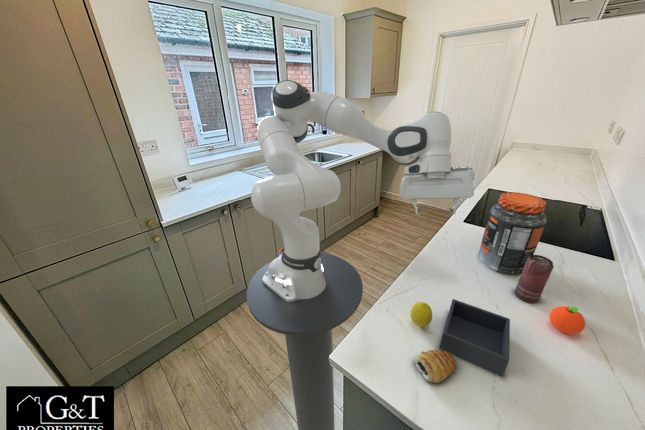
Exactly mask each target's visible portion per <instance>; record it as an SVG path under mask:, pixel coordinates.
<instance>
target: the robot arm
mask: <svg viewBox="0 0 645 430" xmlns="http://www.w3.org/2000/svg"><path fill="white" fill-rule="evenodd" d="M271 102H272V107H273V112H274V113H273V114H274V115H268V116H265V117H263V118H262V119H261V120H260V121H259V122H258V125H257V127H256V128H257V129H256V131H257V140H258V145H259V148H260V150H261V153H262V156H263V159H264V162H265V164H266V167H267V169H268V170H269V171H270V172H271V173H272V174H274V175H273V176H269V177H265V178H263V179H261V180H259V181H256V182H255V183H254V185H253V186H252V189H251V193H250V201H251V205H252V207H253V208H254V210H255V211H256V212H257V213H258V214H259V215H260V216H262V217H264V218H267V219H268V220H271V221H272V222H273V223H274V224H275V225H276V226H277V227H278V229H279V231H280V233H281V237H282V241H283V246H282V248H280V249H279V250H278V251H277V252H278V253H276V258H275V259H273V260H271V261H272V262H271V261H270V262H271V264H270V265H269V268H268V271H267V272H266V273H265V274H264V276H263V278H262V282H263V283H264V284H265V285H267V286H268V287H269V288H270V289H272V290H273V291H274V292H275V293H277V294H278V295H279V296H280V297H282V298H283V299H284V300H285V301H287V302H292V301H295V300H300V299H310V298H313V297H316V296H318V295H319V294H321V293H322V292H323V290H324V289H325V287H326V280H325V277H324V274H323V267H322V264H321V260H322V256H321V252H322V246H321V245H320V244H321V243H320V230H319V229H320V228H319V226H318V225H317V223H316V222H315V221H313V220H312V219H309V218H308V217H304V216H300V213H301V212H303V211H309V210H313V209H317V208H322V207H325V206H328V205H330V204H332V203H335V202H336V201H338V199H339V197H340V194H341V185H342V184H341V181H340V179H339V177H338V176H337V174H336V173H335V172H334V171H333V170H331V169H328V168H325V167H322V166H320V165H318V164H316V163H314V162H313V161H311V160H310V159H309V158H307V157H306V155H304V153H303V152H302V150H301V149H300V147H299V145H298V143H300V142H302V141H304V140H305V139H306V138H307V135H308V131H309V126H308V123H316V124H317V125H319V126H321V127H323V128H325V129H327V130H329V131H331V132H334V133H337V134H339V135H343V136H346V137H350V138H353V139H356V140H359V141H361V142H362V141H363V142H365V143H367V144H370V145H371V146H373V147H375V148H378V149H380V150H381V151H384V152H385V153H387V154H388V155H389V156H390V157H391V158H392V159H393V161H394V162H395V163H396V164H397V165H400V166H403V167H404V166H405V168H404V170H403V174H404V176H403V177H402V179H401V183H400V186H399V187H400V188H399V198H400V199H401V200H403V201H404V200H411V204H412V206H413V207H414V209H415V215H422V212H421V211H422V208H419V207H418V206H417V203H418V200H443V199H444V200H447V199H448V200H449V199H451V200H452V201H453V203H454V204H453V205H452V207H449V208H448V210H449V212H448V213H449V215H456V211H457V210H456V209H457V208H458V206H459V204H460V203H461V199H471V198H473V196H474V195H475V189H474V187H475V186H474V182H473V181H474V179H475V170H474V169H473V168H472V167H469V166H467V165H466V166H452V153H451V145H452V127H451V125H452V124H451V122H450V118H449V117H448V115H447V114H446V113H443V112H440V111H427V112H425V113H423V114H422V115H421V116H420V117H418V118H417V119H416V120H414V121H412V122H410V123H408V124H405V125H401V126H398V127H396V128H395V129H393V130H392V131H391V132H390V131H388V130H385V129H384V128H381V127H380V126H377V125H375V124H374V123H373V122H371V121H370V119H368V117H366V115H365V114H364V113H363V111H362V110H361V109H360V108H359V107H358V106H357V105H356V104H354V103H353V102H351V101H350V100H349V99H347V98H344V97H341V96H339V95H336V94H333V93H330V92H326V91H321V90H320V91H319V90H316V91H312V92H310V90H309V89H308V88H307V87H306V86H303V85H302V84H301V83H299V82H297V81H296V80H295V81H294V80H291V79H284V80H280V81H278V82H277V83H276V84H275V85H273V87H272V89H271ZM287 296H288V297H287Z"/></svg>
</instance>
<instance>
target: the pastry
mask: <svg viewBox="0 0 645 430" xmlns="http://www.w3.org/2000/svg"><path fill="white" fill-rule="evenodd" d="M413 361H414V364H415V366H416V368H417V370H418V371H419V372H420V373H421V374H422V377H423V378H424V379H425V380H426V381H428V382H430V383H441V382H443V381H444V380H446V379H447V378H448V377H449V376H451V374H452V373H453V372H454V371H455V369H456V368H457V360H456V359H455V357H454V355H453V354H451V353H449V352H447V351H444V350H442V349H438V350H437V349H434V348H433V349H432V350H431V349H429V350H427V351H421V352H420V353H419V354H418V355H416V356H414V358H413Z"/></svg>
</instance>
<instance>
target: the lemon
mask: <svg viewBox="0 0 645 430" xmlns="http://www.w3.org/2000/svg"><path fill="white" fill-rule="evenodd" d="M410 319H411V321H412V323H413V324H414V325H415V326H416V327H420V328H425V327H428V326H429V325H430V324H431V322H432V320H433V310H432V308H431V306H430V305H429V304H428V303H426V302H425V301H424V302H423V301H418V302H416V303H414V304H413V305H412V307H411V309H410Z"/></svg>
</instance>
